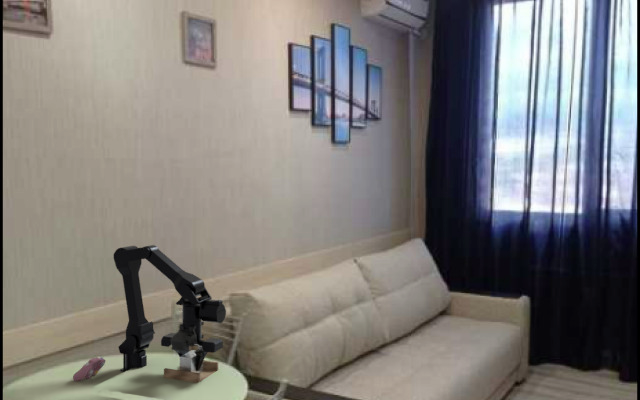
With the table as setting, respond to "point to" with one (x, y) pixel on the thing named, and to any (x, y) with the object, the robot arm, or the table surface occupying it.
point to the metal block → (189, 362)
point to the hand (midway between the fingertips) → (191, 369)
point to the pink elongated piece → (89, 369)
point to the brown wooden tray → (208, 370)
